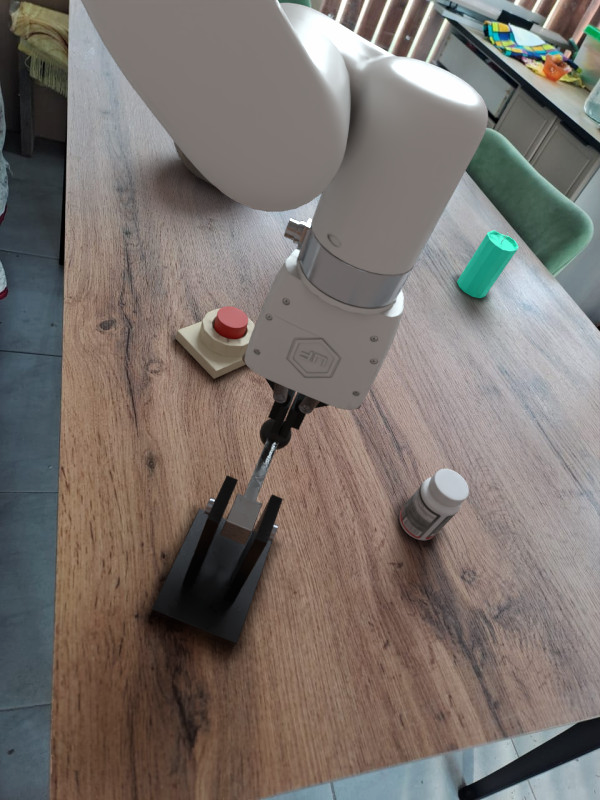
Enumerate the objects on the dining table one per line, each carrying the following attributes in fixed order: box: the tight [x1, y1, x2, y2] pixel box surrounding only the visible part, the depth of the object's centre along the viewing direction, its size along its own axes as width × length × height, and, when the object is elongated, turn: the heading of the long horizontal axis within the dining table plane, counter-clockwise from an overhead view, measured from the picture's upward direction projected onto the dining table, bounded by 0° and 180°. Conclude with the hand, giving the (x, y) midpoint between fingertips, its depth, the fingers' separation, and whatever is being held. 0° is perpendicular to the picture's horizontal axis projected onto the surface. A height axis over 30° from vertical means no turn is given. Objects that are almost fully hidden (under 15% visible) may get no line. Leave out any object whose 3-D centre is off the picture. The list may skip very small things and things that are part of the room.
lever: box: [220, 418, 293, 545], centre depth 50 cm, size 13×3×3 cm, turn 165°
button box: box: [175, 307, 255, 380], centre depth 74 cm, size 10×8×4 cm
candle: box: [456, 229, 519, 299], centre depth 102 cm, size 6×6×12 cm
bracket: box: [150, 475, 284, 649], centre depth 49 cm, size 11×8×13 cm
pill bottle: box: [398, 468, 470, 541], centre depth 63 cm, size 5×5×8 cm
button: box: [214, 305, 249, 339], centre depth 72 cm, size 4×4×2 cm
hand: (282, 425), depth 52 cm, fingers closed
